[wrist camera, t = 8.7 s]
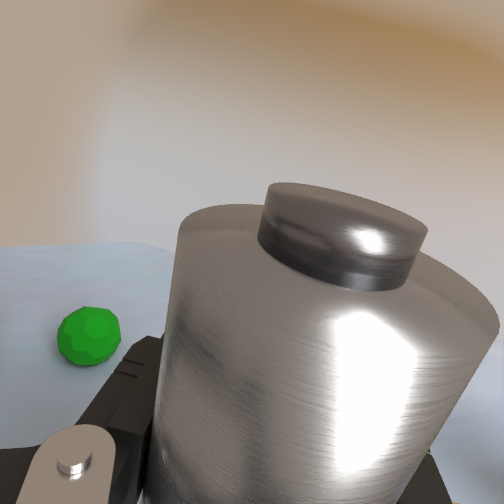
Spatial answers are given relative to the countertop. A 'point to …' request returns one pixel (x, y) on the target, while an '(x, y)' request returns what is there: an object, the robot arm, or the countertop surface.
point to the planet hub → (307, 353)
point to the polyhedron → (89, 335)
